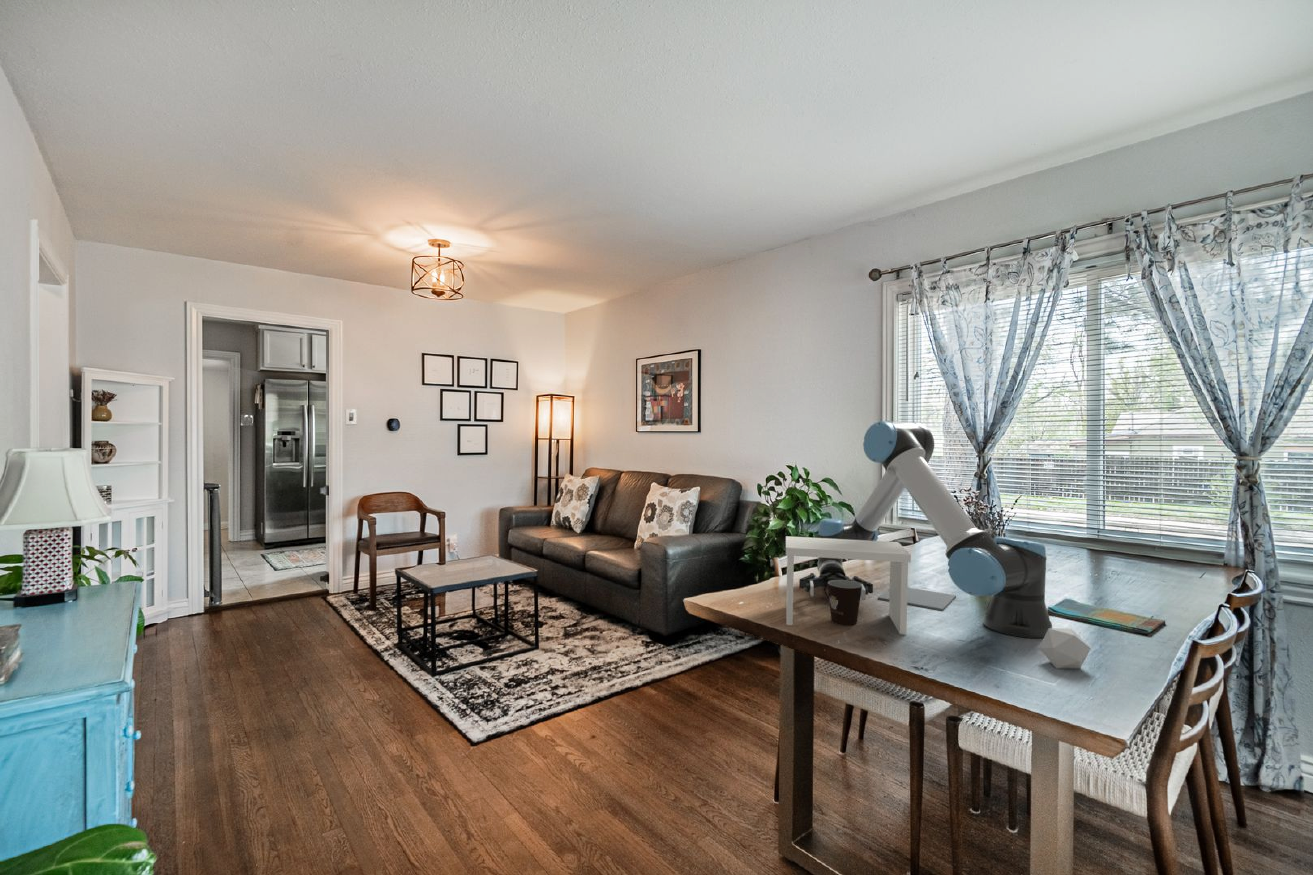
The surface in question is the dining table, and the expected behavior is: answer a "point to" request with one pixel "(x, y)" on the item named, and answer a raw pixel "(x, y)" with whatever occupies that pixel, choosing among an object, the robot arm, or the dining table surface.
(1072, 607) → the dish towel
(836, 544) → the shelf stand
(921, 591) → the placemat
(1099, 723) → the dining table surface
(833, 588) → the coffee mug
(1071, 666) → the die
